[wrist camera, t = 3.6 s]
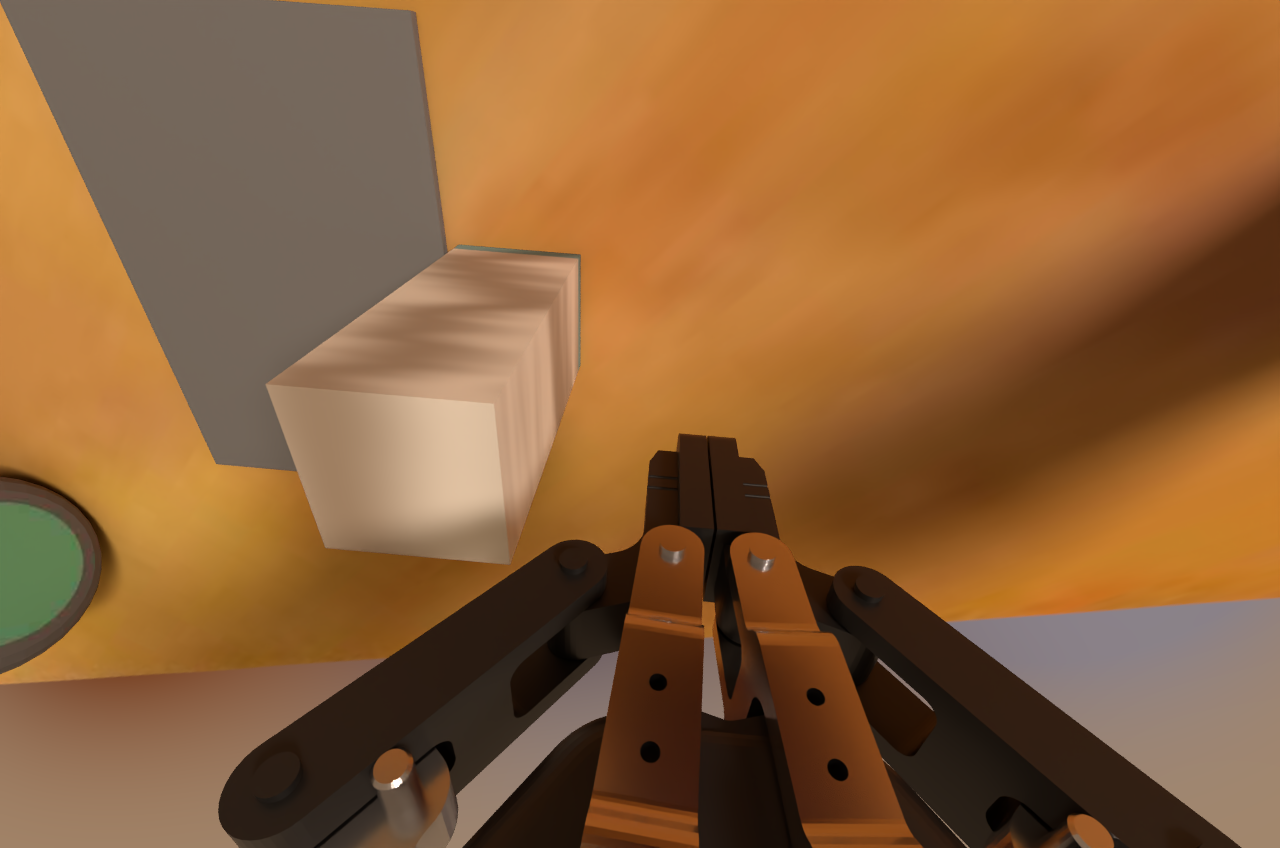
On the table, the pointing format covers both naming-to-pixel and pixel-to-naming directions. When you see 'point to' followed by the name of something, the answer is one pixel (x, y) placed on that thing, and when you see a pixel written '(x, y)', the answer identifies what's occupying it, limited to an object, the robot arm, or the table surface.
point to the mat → (245, 178)
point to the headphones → (42, 569)
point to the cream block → (438, 406)
